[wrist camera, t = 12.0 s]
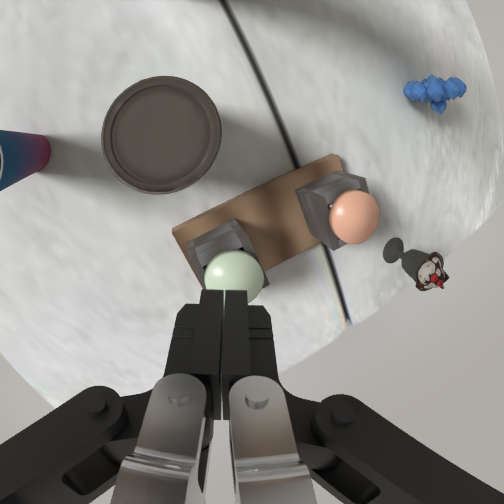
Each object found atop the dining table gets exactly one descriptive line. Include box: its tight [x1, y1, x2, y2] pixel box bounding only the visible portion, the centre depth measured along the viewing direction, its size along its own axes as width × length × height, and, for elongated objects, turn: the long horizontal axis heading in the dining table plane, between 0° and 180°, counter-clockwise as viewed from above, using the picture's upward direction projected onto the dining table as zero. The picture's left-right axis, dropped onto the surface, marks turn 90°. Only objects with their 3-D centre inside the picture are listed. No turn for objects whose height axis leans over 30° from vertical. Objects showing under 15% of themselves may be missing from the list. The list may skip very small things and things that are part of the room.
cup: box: [0, 130, 51, 191], centre depth 25 cm, size 7×7×15 cm
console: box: [172, 154, 369, 289], centre depth 40 cm, size 25×11×9 cm, turn 114°
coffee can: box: [101, 76, 222, 195], centre depth 30 cm, size 10×10×14 cm
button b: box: [328, 190, 379, 244], centre depth 38 cm, size 6×6×8 cm
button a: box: [204, 249, 264, 307], centre depth 37 cm, size 6×6×8 cm
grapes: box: [403, 75, 466, 115], centre depth 37 cm, size 12×7×12 cm, turn 111°
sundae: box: [383, 238, 449, 291], centre depth 46 cm, size 7×7×15 cm
